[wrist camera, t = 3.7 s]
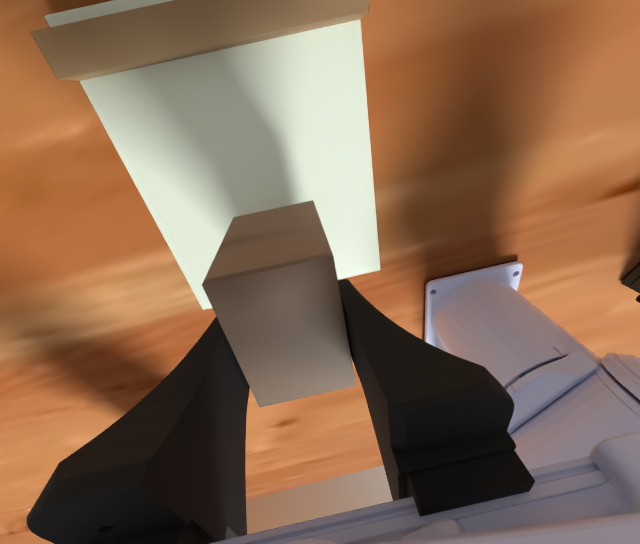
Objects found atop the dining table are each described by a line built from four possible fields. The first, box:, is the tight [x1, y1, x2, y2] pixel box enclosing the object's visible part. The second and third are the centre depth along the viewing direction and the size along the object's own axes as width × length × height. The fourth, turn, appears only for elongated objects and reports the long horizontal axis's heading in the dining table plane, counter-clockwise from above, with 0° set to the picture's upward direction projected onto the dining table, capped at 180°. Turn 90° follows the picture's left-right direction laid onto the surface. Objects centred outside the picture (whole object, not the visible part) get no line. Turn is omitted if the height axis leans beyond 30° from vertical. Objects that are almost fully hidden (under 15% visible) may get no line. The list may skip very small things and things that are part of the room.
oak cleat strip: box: [30, 0, 369, 81], centre depth 12 cm, size 2×13×2 cm, turn 101°
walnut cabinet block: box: [202, 200, 356, 407], centre depth 13 cm, size 6×4×6 cm, turn 10°
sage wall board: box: [44, 0, 380, 310], centre depth 16 cm, size 16×13×2 cm
